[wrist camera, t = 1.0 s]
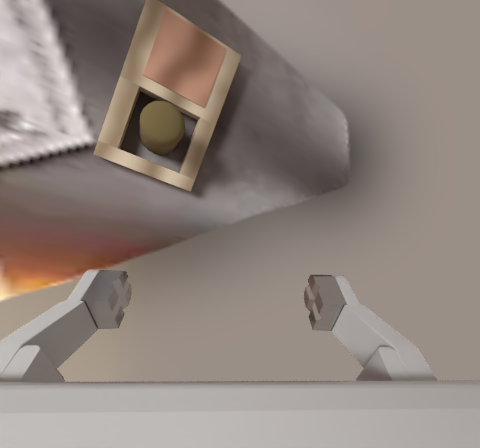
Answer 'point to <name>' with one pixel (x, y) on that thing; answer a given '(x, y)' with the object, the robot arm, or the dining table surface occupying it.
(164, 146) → the cork
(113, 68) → the dining table surface
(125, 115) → the wooden frame
